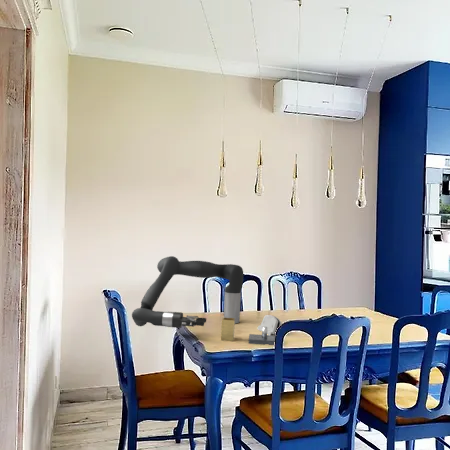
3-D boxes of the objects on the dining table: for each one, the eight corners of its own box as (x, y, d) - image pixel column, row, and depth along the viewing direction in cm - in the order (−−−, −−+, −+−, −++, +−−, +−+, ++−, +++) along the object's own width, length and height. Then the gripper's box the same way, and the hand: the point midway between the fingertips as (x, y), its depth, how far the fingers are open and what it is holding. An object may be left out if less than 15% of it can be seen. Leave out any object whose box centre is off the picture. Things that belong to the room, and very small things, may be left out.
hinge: (256, 328, 259) (263, 311, 261) (264, 331, 261) (270, 314, 262) (269, 336, 244) (276, 317, 245) (277, 338, 245) (284, 320, 246)
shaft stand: (249, 338, 237) (249, 324, 237) (279, 339, 236) (280, 325, 236) (248, 343, 226) (249, 328, 226) (280, 345, 225) (280, 330, 225)
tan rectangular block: (222, 337, 236) (222, 317, 236) (234, 338, 235) (234, 318, 235) (220, 340, 230) (221, 319, 230) (233, 341, 229) (234, 320, 229)
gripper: (170, 314, 228) (203, 316, 226) (175, 309, 242) (207, 311, 241) (169, 330, 228) (202, 332, 226) (175, 324, 242) (206, 326, 241)
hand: (205, 321), depth 233 cm, fingers open, 8 cm apart
